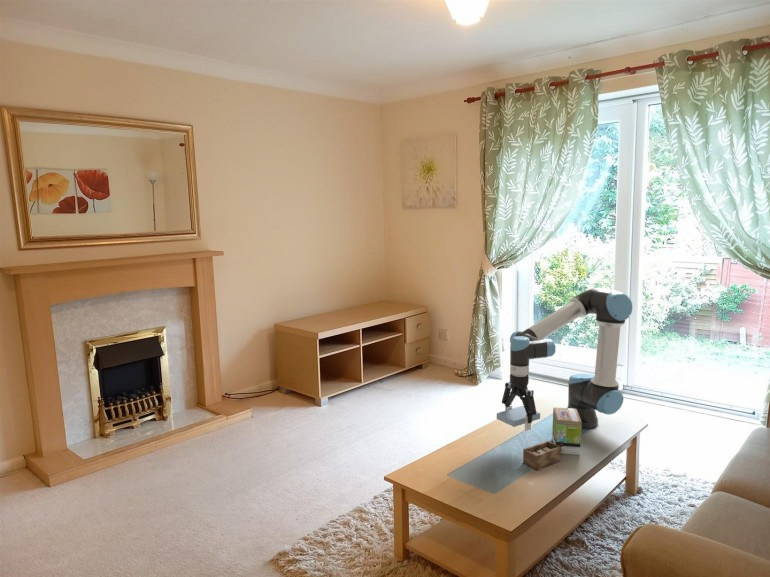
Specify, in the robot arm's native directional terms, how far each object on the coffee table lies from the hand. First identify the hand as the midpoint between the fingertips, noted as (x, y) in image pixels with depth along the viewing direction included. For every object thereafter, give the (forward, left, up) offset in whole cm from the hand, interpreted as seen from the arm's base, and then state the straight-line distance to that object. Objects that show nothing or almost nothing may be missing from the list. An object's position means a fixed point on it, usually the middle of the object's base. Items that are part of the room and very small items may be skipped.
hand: (518, 425), depth 221 cm
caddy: (0, +13, -11) cm, 17 cm away
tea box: (-19, +9, -11) cm, 24 cm away
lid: (0, 0, +3) cm, 3 cm away
